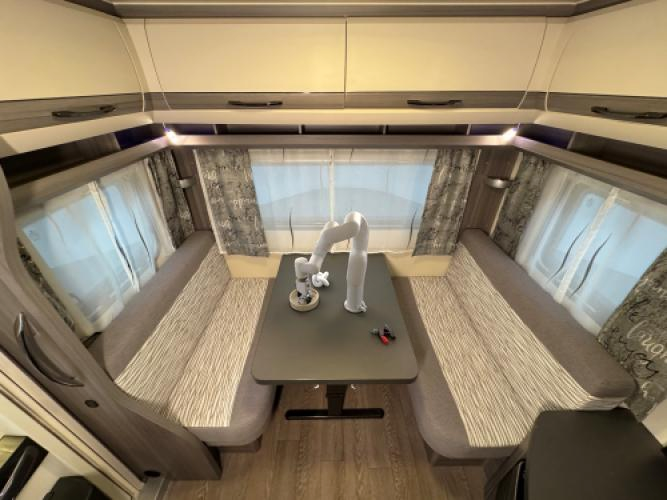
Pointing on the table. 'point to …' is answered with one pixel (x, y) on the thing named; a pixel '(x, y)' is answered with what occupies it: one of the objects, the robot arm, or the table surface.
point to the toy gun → (384, 333)
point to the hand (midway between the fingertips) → (304, 299)
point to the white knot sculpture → (320, 279)
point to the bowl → (298, 306)
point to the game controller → (302, 299)
